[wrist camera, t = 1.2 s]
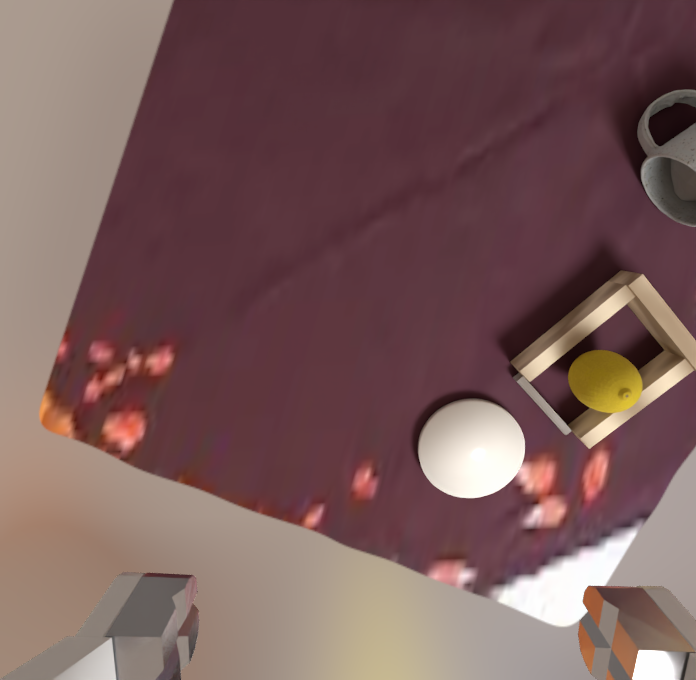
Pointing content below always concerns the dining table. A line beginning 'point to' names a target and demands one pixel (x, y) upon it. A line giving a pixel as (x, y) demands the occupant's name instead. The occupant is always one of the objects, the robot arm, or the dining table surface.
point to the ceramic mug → (670, 163)
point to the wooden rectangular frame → (584, 319)
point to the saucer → (471, 448)
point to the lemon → (605, 381)
